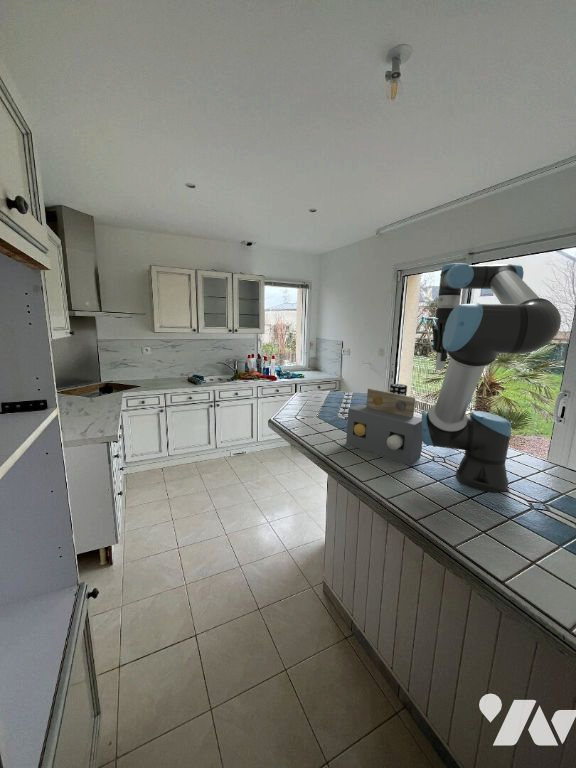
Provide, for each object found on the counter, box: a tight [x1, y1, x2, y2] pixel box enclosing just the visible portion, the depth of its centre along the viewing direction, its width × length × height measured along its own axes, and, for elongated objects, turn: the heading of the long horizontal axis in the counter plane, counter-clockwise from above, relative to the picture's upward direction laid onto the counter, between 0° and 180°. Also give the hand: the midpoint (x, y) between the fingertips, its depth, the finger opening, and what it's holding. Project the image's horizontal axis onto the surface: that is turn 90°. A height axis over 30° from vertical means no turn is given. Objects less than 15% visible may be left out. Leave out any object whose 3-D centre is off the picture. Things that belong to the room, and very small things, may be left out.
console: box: [345, 403, 423, 467], centre depth 127 cm, size 10×28×16 cm, turn 46°
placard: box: [365, 388, 416, 418], centre depth 127 cm, size 1×20×8 cm, turn 46°
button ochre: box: [354, 423, 367, 436], centre depth 130 cm, size 4×5×5 cm
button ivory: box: [387, 434, 404, 450], centre depth 117 cm, size 4×5×5 cm
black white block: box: [389, 383, 408, 396], centre depth 163 cm, size 8×8×20 cm
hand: (439, 369), depth 123 cm, fingers closed
